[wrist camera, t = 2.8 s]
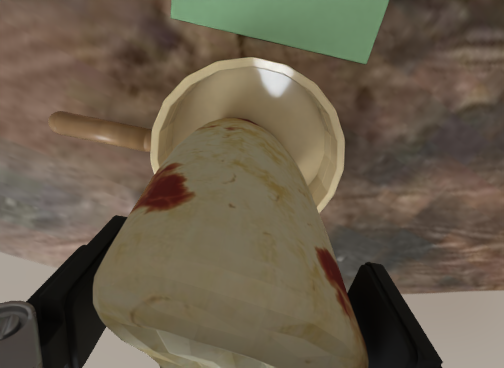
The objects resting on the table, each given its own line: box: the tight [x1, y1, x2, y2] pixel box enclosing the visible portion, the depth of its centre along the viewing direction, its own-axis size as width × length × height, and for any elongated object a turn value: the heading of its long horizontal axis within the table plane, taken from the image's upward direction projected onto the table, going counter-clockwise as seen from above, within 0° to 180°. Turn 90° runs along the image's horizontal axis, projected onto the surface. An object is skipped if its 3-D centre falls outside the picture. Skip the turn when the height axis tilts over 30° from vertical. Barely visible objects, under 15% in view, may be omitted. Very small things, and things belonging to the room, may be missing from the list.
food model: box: [93, 118, 369, 368], centre depth 16 cm, size 10×7×20 cm
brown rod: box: [48, 111, 152, 152], centre depth 21 cm, size 8×2×2 cm, turn 78°
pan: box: [150, 57, 345, 213], centre depth 23 cm, size 15×15×4 cm
